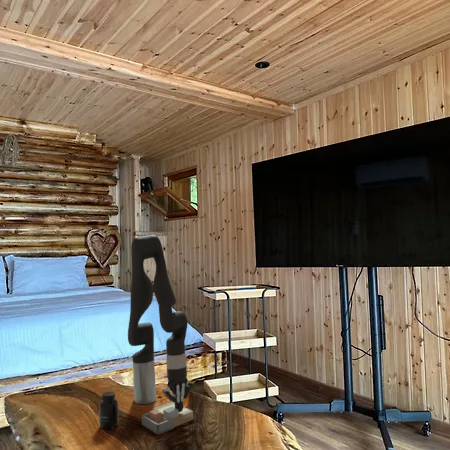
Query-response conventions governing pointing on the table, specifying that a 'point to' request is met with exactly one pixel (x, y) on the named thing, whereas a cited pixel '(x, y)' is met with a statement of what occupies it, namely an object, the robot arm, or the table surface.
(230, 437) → the table surface
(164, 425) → the tray
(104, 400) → the supplement bottle
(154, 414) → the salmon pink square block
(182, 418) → the board
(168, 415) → the blue gray block
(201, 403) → the table surface
